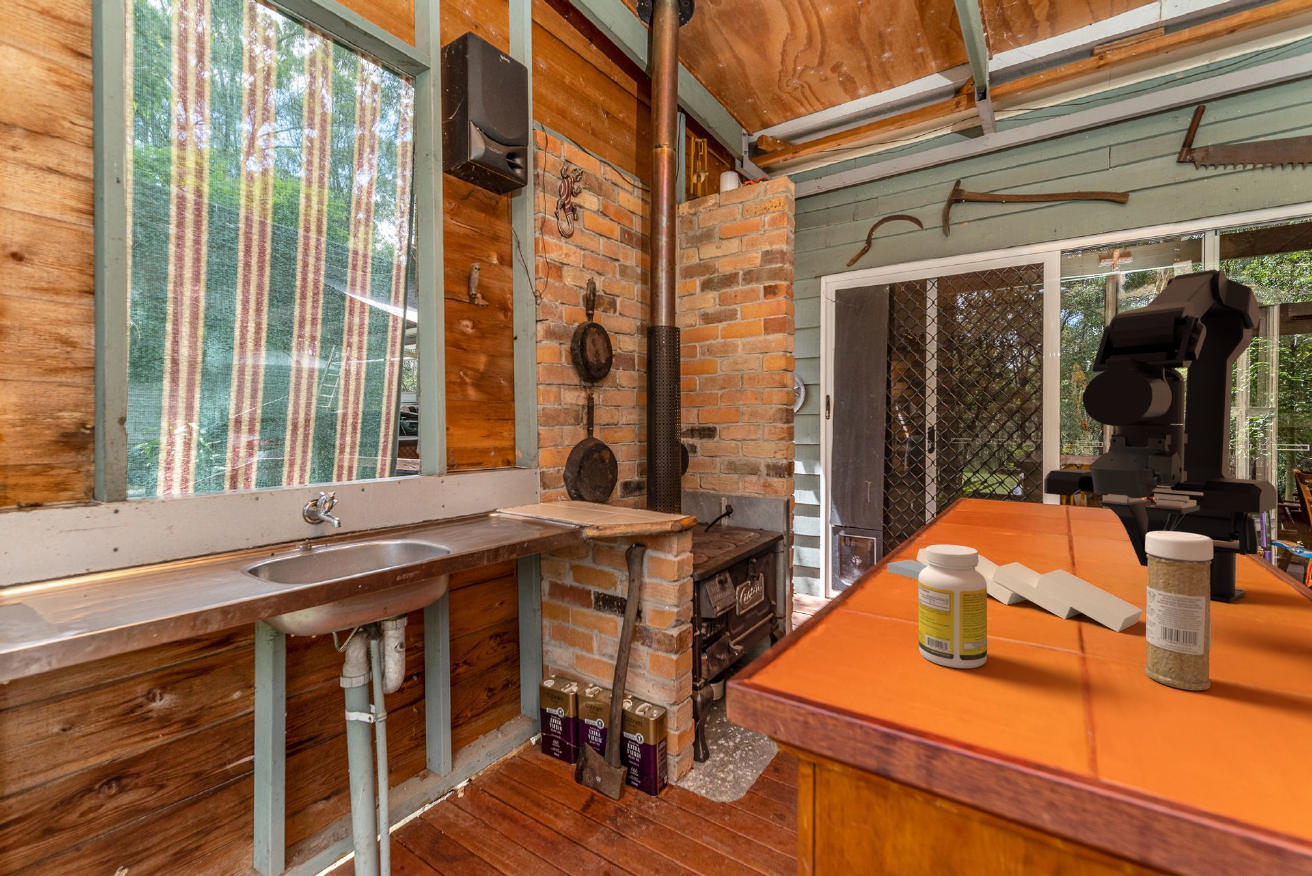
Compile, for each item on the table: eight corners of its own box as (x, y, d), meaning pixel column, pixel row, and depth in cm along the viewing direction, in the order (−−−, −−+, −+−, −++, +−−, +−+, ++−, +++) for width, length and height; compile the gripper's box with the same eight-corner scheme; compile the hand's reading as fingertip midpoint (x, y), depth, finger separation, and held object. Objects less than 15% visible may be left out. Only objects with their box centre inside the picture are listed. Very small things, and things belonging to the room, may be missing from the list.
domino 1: (938, 589, 83) (887, 574, 91) (961, 584, 86) (909, 570, 94) (938, 576, 83) (887, 563, 91) (961, 572, 86) (909, 559, 94)
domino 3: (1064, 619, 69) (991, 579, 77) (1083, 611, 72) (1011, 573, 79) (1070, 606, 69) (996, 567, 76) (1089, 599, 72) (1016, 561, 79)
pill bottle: (980, 649, 61) (980, 544, 60) (993, 674, 55) (994, 558, 55) (915, 642, 63) (915, 540, 62) (921, 665, 57) (921, 553, 57)
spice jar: (1217, 683, 52) (1220, 535, 52) (1201, 697, 50) (1204, 541, 49) (1153, 666, 56) (1155, 527, 56) (1135, 678, 54) (1137, 533, 53)
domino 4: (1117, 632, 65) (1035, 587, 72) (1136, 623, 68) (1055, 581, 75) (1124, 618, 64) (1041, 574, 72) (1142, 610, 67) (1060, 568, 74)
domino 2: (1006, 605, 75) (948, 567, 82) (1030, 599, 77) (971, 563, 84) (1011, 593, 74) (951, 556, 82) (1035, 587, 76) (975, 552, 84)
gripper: (1020, 425, 68) (1019, 558, 68) (1241, 426, 52) (1238, 600, 52) (1067, 424, 73) (1066, 547, 74) (1279, 424, 57) (1276, 581, 58)
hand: (1147, 565), depth 64 cm, fingers closed
